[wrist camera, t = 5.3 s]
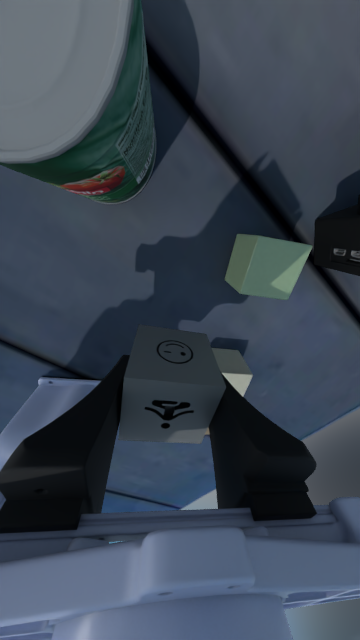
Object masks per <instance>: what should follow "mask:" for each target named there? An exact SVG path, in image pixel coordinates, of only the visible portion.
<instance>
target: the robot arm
mask: <svg viewBox="0 0 360 640" xmlns="http://www.w3.org/2000/svg"><path fill="white" fill-rule="evenodd" d="M129 358H130V355H123V356H122V357H121V358H120V360H119V361H118V362H117V364H116V365H115V366H114V367H113V369H112V370H111V371H110V372H109V373H108V374H107V376H106V377H105V378H104V379H103V380H102V381H97V380H80V379H64V378H47V377H41V378H40V379H39V380H38V383H39V386H38V387H37V389H36V390H35V391H34V392H33V394H32V395H31V396H30V397H29V399H28V400H27V401H26V402H25V404H24V405H23V406H22V407H21V409H20V410H19V411H18V412H17V414H16V415H15V416H14V417H13V419H12V420H11V421H10V422H9V423H8V425H7V426H6V427H5V429H4V430H3V431H2V433H1V435H0V640H293V637H292V634H291V631H290V627H289V624H288V621H287V618H286V614H285V611H284V609H290V608H296V607H302V606H309V605H316V604H322V603H329V602H336V601H342V600H349V599H356V598H360V497H340V498H336V499H334V500H332V501H331V502H330V503H329V505H313V504H312V502H311V500H310V499H309V497H308V495H307V493H306V492H308V487H307V485H306V484H305V482H304V481H305V480H306V479H307V478H308V477H309V476H310V475H311V474H312V473H313V472H314V470H315V468H316V462H315V460H314V458H313V457H312V455H311V454H310V452H309V450H308V449H307V447H306V446H305V444H304V443H303V442H302V441H300V440H298V439H297V438H295V437H294V436H292V435H291V434H289V433H287V432H286V431H284V430H283V429H281V428H280V427H279V426H277V425H276V424H274V423H273V422H272V421H270V420H269V419H268V418H266V417H265V416H264V415H263V414H262V413H260V412H259V411H258V410H257V409H256V408H254V407H253V406H252V405H251V404H250V403H249V402H248V401H247V400H246V399H245V398H244V397H243V396H242V395H241V394H240V393H239V392H238V391H237V390H236V389H235V388H234V387H233V386H232V385H231V384H230V382H229V381H228V380H227V379H226V378H225V376H224V375H223V374H222V373H221V375H222V377H223V380H224V383H225V385H226V389H225V391H224V393H223V396H222V398H221V400H220V402H219V404H218V407H217V409H216V411H215V413H214V415H213V418H212V420H211V422H210V424H209V427H208V428H209V433H210V440H211V447H212V454H213V462H214V471H215V480H216V491H217V502H218V509H204V510H177V511H151V512H124V513H101V510H102V505H103V500H104V494H105V489H106V484H107V479H108V474H109V469H110V463H111V459H112V454H113V449H114V444H115V439H116V435H117V430H118V426H119V422H120V417H121V406H122V394H123V383H124V376H125V372H126V368H127V365H128V361H129ZM220 372H221V371H220ZM114 541H123V542H118V543H112V544H109V542H114Z"/></svg>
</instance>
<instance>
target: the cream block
mask: <svg viewBox="0 0 360 640" xmlns="http://www.w3.org/2000/svg"><path fill="white" fill-rule="evenodd" d="M212 351H213V353H214V356H215V359H216V361H217V364H218V367H219V369H220V371H221V373H222V374H223V375H224V376H225V378H226V379H227V380H228V381H229V382H230V384H231V385H232V386H233V387H234V388H235V389H236V390H237V391H238V392H239V393H240V394H241V395H242V396H244V393H245V391H246V389H247V387H248V385H249V383H250V381H251V378H252V376H253V374H252V372H251V371H250V369H249V367H248V366H247V364H246V362H245V361H244V359H243V357H242V355H241V354H240V352H239V350H231V349H220V348H212Z"/></svg>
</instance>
